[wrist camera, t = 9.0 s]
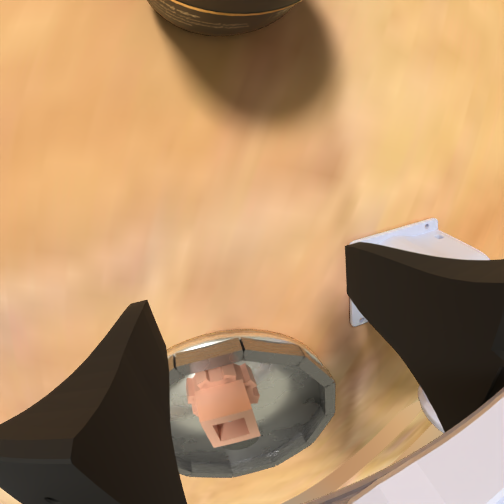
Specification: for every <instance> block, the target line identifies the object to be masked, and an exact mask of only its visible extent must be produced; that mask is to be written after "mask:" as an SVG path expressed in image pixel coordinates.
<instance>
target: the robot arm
mask: <svg viewBox="0 0 504 504" xmlns="http://www.w3.org/2000/svg"><path fill="white" fill-rule="evenodd" d="M425 226H426V227H425ZM345 255H346V279H347V294H348V296H349V297H350V323H351V325H352V326H354V327H355V326H358V325H361V324H364V323H366V322H369V323H370V324H371V325H372V326H373V327H374V328H375V329H376V330H377V331H378V332H379V333H380V334H381V336H382V337H383V338H384V339H385V340H386V341H387V342H388V343H389V344H390V345H391V346H392V347H393V348H394V350H395V351H396V352H397V353H398V354H399V356H400V357H401V358H402V359H403V361H404V362H405V364H406V365H407V367H408V368H409V369H410V371H411V372H412V374H413V375H414V377H415V378H416V380H417V382H418V383H419V388H418V398H419V401H420V404H421V408H422V410H423V412H424V414H425V415H426V417H427V418H428V419H429V421H430V422H431V423H432V424H433V425H434V426H436V427H437V428H438V429H439V430H440V431H441V432H443V433H444V434H442V435H441V436H439V437H438V438H436V439H435V440H433V441H432V442H430V443H428V444H427V445H425V446H424V447H422V448H420V449H419V450H417V451H415V452H414V453H412V454H410V455H408V456H407V457H405V458H403V459H401V460H400V461H398V462H396V463H394V464H392V465H390V466H388V467H387V468H385V469H383V470H381V471H379V472H377V473H375V474H373V475H371V476H368V477H366V478H364V479H362V480H360V481H358V482H356V483H353V484H351V485H349V486H346V487H344V488H342V489H339V490H337V491H334V492H332V493H329V494H327V495H324V496H322V497H319V498H316V499H313V500H311V501H308V502H305V503H302V504H504V259H502V260H490V259H489V258H488V257H487V256H486V255H485V254H484V253H483V252H481V251H480V250H478V249H476V248H474V247H472V246H470V245H468V244H466V243H464V242H462V241H460V240H458V239H456V238H454V237H452V236H450V235H448V234H446V233H444V232H442V231H440V230H438V221H437V219H435V218H430V219H427V220H424V221H420V222H417V223H413V224H410V225H406V226H403V227H400V228H396V229H393V230H389V231H386V232H382V233H379V234H375V235H372V236H368V237H365V238H361V239H358V240H354V241H352V242H351V243H350V244H349V245H347V246H345ZM361 318H362V319H361ZM360 319H361V320H360ZM0 488H2V489H3V490H4V491H6V492H7V493H8V494H10V495H11V496H12V497H14V498H15V499H16V500H18V501H19V502H21V503H22V504H187V502H186V498H185V495H184V491H183V487H182V483H181V480H180V475H179V471H178V466H177V461H176V457H175V451H174V446H173V440H172V434H171V424H170V384H169V364H168V357H167V350H166V345H165V343H164V340H163V338H162V336H161V333H160V331H159V328H158V326H157V324H156V321H155V319H154V316H153V314H152V311H151V308H150V306H149V303H148V301H147V300H144V301H140V302H136V303H132V304H130V305H129V306H128V307H127V309H126V310H125V311H124V312H123V314H122V315H121V316H120V318H119V319H118V320H117V322H116V323H115V324H114V326H113V327H112V328H111V330H110V331H109V332H108V334H107V335H106V336H105V337H104V339H103V340H102V341H101V342H100V344H99V345H98V346H97V347H96V348H95V350H94V351H93V352H92V353H91V354H90V356H89V357H88V358H87V359H86V360H85V361H84V362H83V363H82V364H81V365H80V366H79V367H78V368H77V369H76V370H75V371H74V372H73V373H72V374H71V375H70V376H69V377H68V378H67V379H66V380H65V381H63V382H62V383H61V384H60V385H59V386H58V387H56V388H55V389H54V390H53V391H52V392H50V393H49V394H48V395H47V396H45V397H44V398H43V399H41V400H40V401H39V402H37V403H36V404H34V405H33V406H31V407H30V408H28V409H27V410H25V411H24V412H22V413H20V414H19V415H17V416H15V417H13V418H11V419H10V420H8V421H6V422H4V423H2V424H0Z"/></svg>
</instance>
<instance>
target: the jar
mask: <svg viewBox="0 0 504 504" xmlns="http://www.w3.org/2000/svg"><path fill="white" fill-rule="evenodd" d="M147 1H148V2H149V4H150V5H151V6H152V7H153V9H154V10H155V11H156V12H157V13H159V14H160V15H161V16H162V17H163V18H165V19H166V20H168V21H169V22H171V23H172V24H174V25H176V26H178V27H180V28H182V29H184V30H187V31H190V32H193V33H197V34H202V35H210V36H229V35H236V34H242V33H246V32H250V31H254V30H257V29H259V28H262V27H264V26H267V25H269V24H271V23H273V22H274V21H276V20H277V19H279V18H280V17H282V16H283V15H284V14H285V13H287V12H288V11H289V10H290V9H291V8H292V7H293V6H294V5H295V4H297V3H299V2H301V1H302V0H147Z"/></svg>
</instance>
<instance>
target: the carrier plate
mask: <svg viewBox="0 0 504 504" xmlns="http://www.w3.org/2000/svg"><path fill="white" fill-rule="evenodd" d="M167 357H168V364H169V384H170V424H171V434H172V440H173V446H174V451H175V457H176V461H177V466H178V471H179V474H182V475H185V476H189V477H212V478H232V476H233V477H237V476H241V475H245V474H249V473H253V472H257V471H260V470H264V469H268V468H271V467H274V466H275V465H279V464H280V463H282V462H284V461H285V460H287V459H289V458H290V457H292V456H294V455H295V454H297V453H299V452H300V451H302V450H303V449H305V448H306V447H308V446H310V445H311V444H312V443H313V442H314V441H315V440H316V438H317V437H318V436H319V435H320V433H321V432H322V431H323V429H324V428H325V427H326V425H327V424H328V422H329V421H330V420H331V418H332V417H333V416H334V413H335V381H334V379H333V378H332V376H331V374H330V373H329V371H328V370H327V369H326V368H325V367H323V365H322V363H321V362H320V360H319V359H318V357H317V356H316V355H315V354H314V352H313V351H312V350H311V349H310V348H308V347H307V346H306V345H304V344H303V343H301V342H299V341H297V340H295V339H293V338H291V337H288V336H285V335H283V334H279V333H275V332H270V331H263V330H253V329H245V330H228V331H219V332H214V333H210V334H205V335H201V336H198V337H195V338H192V339H189V340H186V341H184V342H182V343H179V344H177V345H175V346H173V347H171V348H169V349H168V350H167ZM232 363H234V364H237V365H242V364H244V363H246V364H247V365H248V366H249V367H250V368H251V370H252V373H253V376H254V378H255V381H256V384H257V386H256V387H257V389H258V392H259V395H260V397H259V400H258V403H254V404H251V407H252V410H253V413H254V416H255V419H256V423H257V426H258V429H259V432H260V435H261V436H259V437H255V438H252V439H248V440H244V441H240V442H237V443H233V444H229V445H225V446H220V447H216V448H214V447H213V446H212V444H211V442H210V440H209V439H208V437H207V435H206V433H205V431H204V429H203V428H202V426H201V424H200V422H199V417H197V416H196V415H195V414H193V411H192V404H188V401H187V393H186V379H187V378H193V377H194V375H195V373H197V372H201V371H205V370H209V369H213V368H217V367H221V366H224V365H228V364H232ZM229 422H231V421H229Z"/></svg>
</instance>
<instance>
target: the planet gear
mask: <svg viewBox="0 0 504 504" xmlns="http://www.w3.org/2000/svg"><path fill="white" fill-rule="evenodd" d="M256 386H257V384H256V381H255V378H254V376H253V373H252V370H251V368H250V367H249V366H248V365H247V364H246V363H244V364H242V365H237V364H234V363H232V364H228V365H224V366H221V367H217V368H213V369H209V370H205V371H201V372H197V373H195V375H194V377H193V378H187V379H186V393H187V401H188V404H192V411H193V414H195V415H196V416H197V417H199V422H200V424H201V426H202V428H203V429H204V431H205V433H206V435H207V437H208V439H209V440H210V442H211V444H212V446H213V447H214V448H216V447H220V446H225V445H229V444H233V443H237V442H240V441H244V440H248V439H252V438H255V437H259V436H261V435H260V432H259V429H258V426H257V423H256V419H255V416H254V413H253V410H252V407H251V404H254V403H258V400H259V397H260V395H259V392H258V389H257V387H256ZM229 421H231V422H229Z"/></svg>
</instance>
